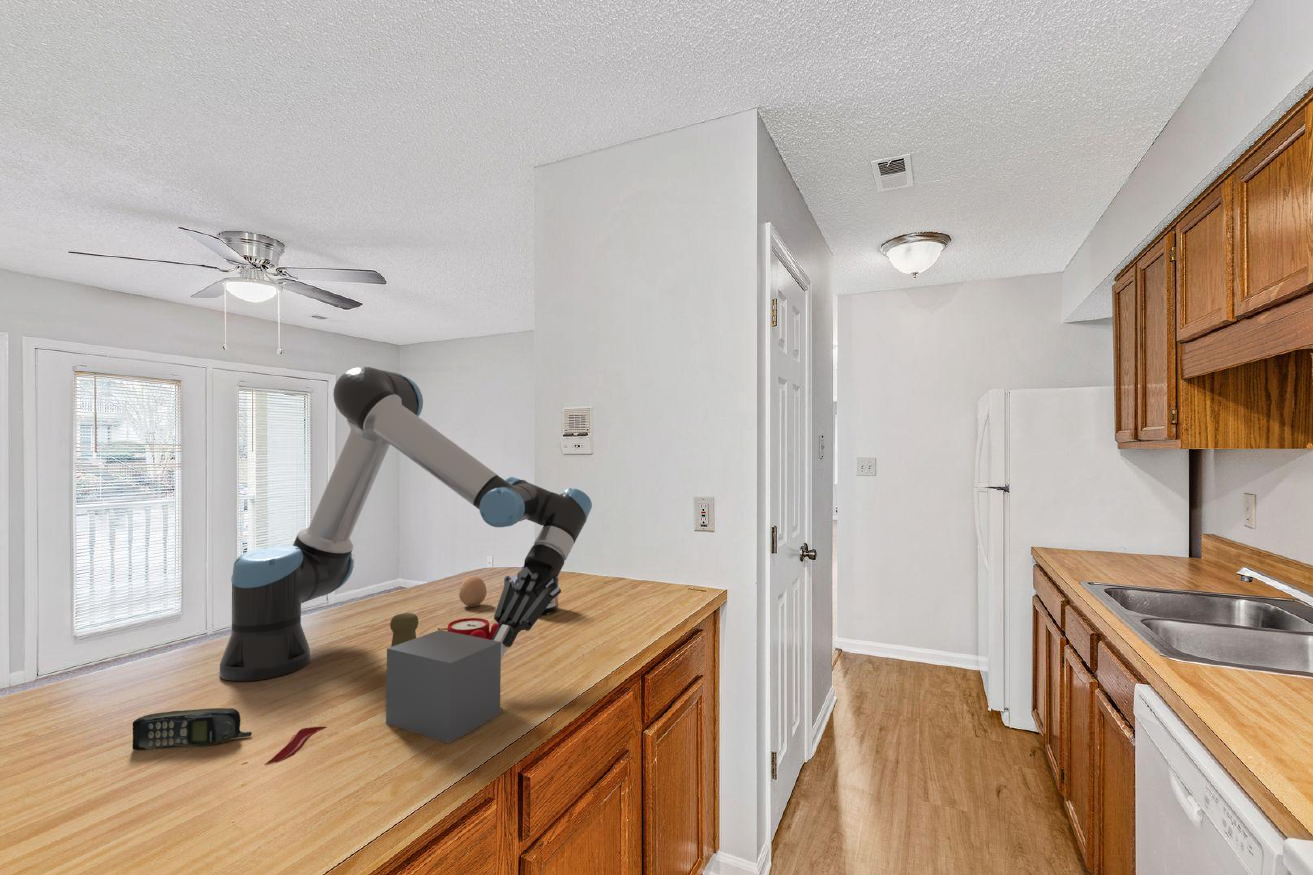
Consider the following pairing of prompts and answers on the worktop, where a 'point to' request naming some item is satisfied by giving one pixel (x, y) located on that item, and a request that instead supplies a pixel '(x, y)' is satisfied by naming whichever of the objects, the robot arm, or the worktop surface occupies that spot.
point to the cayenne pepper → (295, 743)
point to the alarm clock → (472, 627)
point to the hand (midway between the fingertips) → (491, 660)
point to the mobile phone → (186, 728)
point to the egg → (472, 591)
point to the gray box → (443, 684)
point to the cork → (403, 628)
